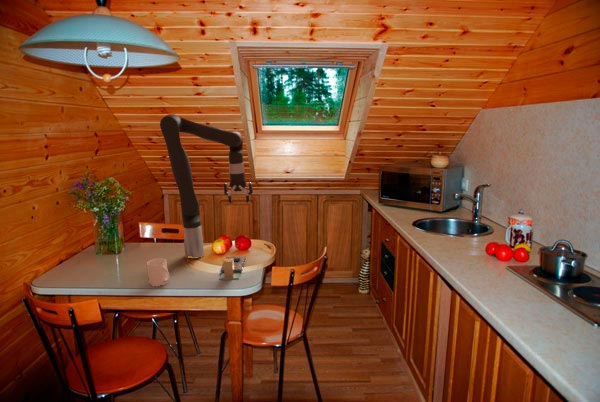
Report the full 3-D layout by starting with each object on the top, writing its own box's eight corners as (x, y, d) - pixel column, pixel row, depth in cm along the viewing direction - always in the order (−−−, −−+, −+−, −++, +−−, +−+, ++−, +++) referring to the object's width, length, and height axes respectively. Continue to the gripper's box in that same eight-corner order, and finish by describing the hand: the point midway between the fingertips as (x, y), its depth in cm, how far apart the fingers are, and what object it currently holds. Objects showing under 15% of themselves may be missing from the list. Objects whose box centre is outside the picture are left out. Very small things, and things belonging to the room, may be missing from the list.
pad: (219, 279, 199) (219, 278, 199) (221, 274, 205) (221, 273, 205) (238, 279, 199) (238, 278, 199) (240, 273, 205) (240, 272, 205)
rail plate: (220, 273, 205) (220, 269, 205) (226, 260, 221) (226, 256, 220) (241, 273, 205) (241, 269, 205) (245, 259, 221) (245, 256, 220)
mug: (162, 290, 190) (159, 268, 188) (145, 284, 197) (142, 263, 194) (177, 283, 197) (175, 261, 194) (160, 277, 204) (158, 256, 201)
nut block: (224, 277, 200) (223, 261, 198) (226, 273, 204) (225, 258, 202) (233, 277, 200) (232, 261, 198) (234, 273, 204) (233, 258, 202)
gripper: (221, 173, 210) (224, 204, 215) (250, 172, 210) (252, 204, 214) (224, 170, 218) (226, 200, 222) (251, 169, 217) (253, 200, 222)
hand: (239, 202), depth 218 cm, fingers open, 8 cm apart
